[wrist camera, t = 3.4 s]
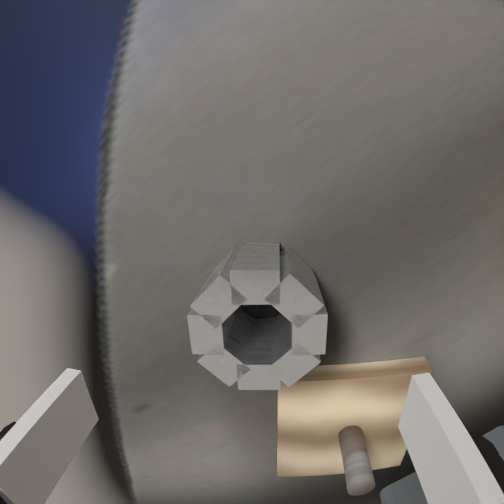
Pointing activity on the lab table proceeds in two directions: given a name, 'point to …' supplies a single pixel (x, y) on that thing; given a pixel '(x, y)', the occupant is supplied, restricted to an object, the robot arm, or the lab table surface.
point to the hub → (259, 329)
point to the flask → (409, 488)
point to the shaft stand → (345, 420)
